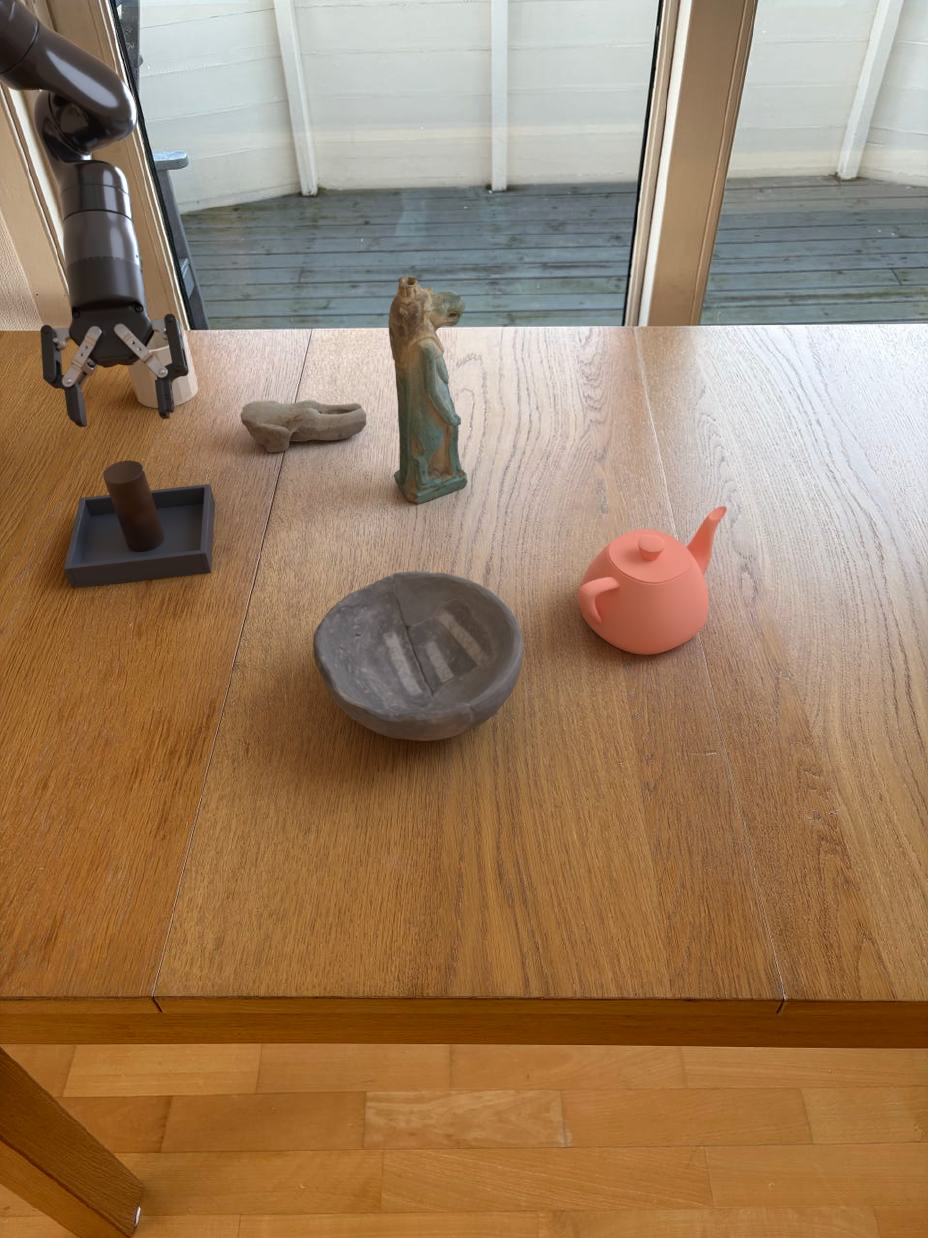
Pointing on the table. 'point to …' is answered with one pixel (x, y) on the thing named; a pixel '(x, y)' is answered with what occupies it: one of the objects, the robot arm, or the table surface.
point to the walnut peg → (134, 505)
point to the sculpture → (300, 422)
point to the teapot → (649, 588)
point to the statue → (424, 392)
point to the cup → (146, 378)
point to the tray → (109, 560)
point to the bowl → (419, 655)
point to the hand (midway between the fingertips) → (123, 421)
